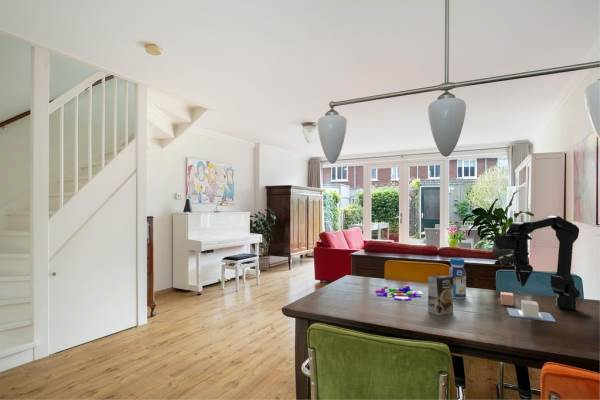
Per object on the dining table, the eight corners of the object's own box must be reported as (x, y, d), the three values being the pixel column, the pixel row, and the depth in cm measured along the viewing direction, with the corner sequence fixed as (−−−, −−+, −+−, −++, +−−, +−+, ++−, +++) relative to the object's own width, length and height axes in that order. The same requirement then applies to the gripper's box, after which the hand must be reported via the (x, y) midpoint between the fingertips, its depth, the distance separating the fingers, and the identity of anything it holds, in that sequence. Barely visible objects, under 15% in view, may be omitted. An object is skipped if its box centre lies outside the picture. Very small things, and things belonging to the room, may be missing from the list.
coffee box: (438, 315, 141) (438, 278, 142) (427, 311, 147) (427, 275, 147) (454, 313, 145) (453, 276, 145) (442, 309, 151) (442, 273, 151)
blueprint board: (549, 314, 144) (549, 312, 144) (556, 322, 133) (556, 321, 133) (506, 308, 151) (506, 307, 151) (509, 316, 141) (509, 315, 141)
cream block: (536, 313, 144) (536, 301, 144) (538, 316, 139) (538, 304, 139) (521, 311, 146) (521, 300, 146) (523, 314, 141) (523, 303, 141)
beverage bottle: (450, 293, 178) (450, 257, 178) (467, 296, 173) (467, 258, 173) (447, 297, 171) (446, 259, 171) (464, 300, 166) (464, 260, 166)
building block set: (380, 300, 165) (380, 291, 165) (374, 290, 186) (374, 282, 186) (430, 302, 163) (430, 293, 163) (418, 291, 184) (418, 283, 184)
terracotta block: (512, 303, 161) (512, 293, 161) (513, 306, 156) (513, 295, 157) (500, 301, 163) (500, 291, 163) (501, 304, 159) (501, 294, 159)
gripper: (497, 246, 161) (497, 278, 161) (502, 250, 144) (503, 286, 144) (524, 247, 157) (524, 280, 156) (532, 252, 140) (533, 289, 139)
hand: (520, 283), depth 149 cm, fingers open, 9 cm apart
